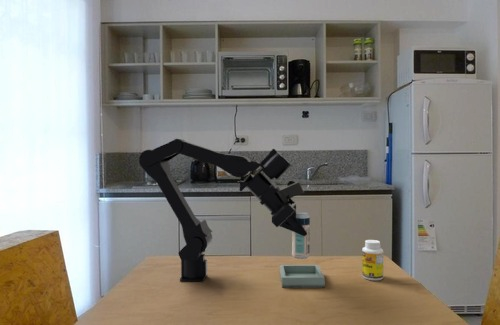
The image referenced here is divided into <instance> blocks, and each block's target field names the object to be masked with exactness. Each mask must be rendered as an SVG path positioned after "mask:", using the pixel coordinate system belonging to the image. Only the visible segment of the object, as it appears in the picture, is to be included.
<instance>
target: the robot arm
mask: <svg viewBox="0 0 500 325" xmlns="http://www.w3.org/2000/svg"><path fill="white" fill-rule="evenodd" d="M179 155H184V156H186V157H188V158H192V159H195V160H199V161H201V162H204V163H207V164H210V165H213V166H216V167H218V168H220V169H221V170H222V171H224V172H225V173H228V174H229V175H231V176H233V177H235V178H243V177H246V176H247V175H248V177H246V178H245V179H244V180H239V182H238V183H239V192H243V191H244V190H245V189H246V188H247V189H248V190H249V191H250V193H252V194H253V196H255V198H257V200H258V201H259V203H260V205H261V206H264V207H265V208H266V209H267V210H268V211H270V214H271V223H272V224H273V225H274V226H275V227H276V228H278V227H280V228H282V229H286V230H288V231H291V232H292V231H293V232H295V233H298V234H300V235H302V236H306V235H307V232H306V231H305V229H304V228H303V226H302V225H301V223H300V222H299V220H298V219H297V218H296V212H297V204H296V201H295V200H294V199H293V198H294V197H296V196H298V195H299V196H300V195H303V194H304V193H305V190H304V188H303V186H302V184H301V182H300V180H299V181H294V180H293V179H291V180H289V181H287V186H285V187H282V188H280V186H275V185H274V184H273V183H272V182H271V181H270V180H273V179H276V180H279V179H280V178H281V177H282V176H283V174H284V173H286V172H287V171H288V170H289V169H290V168H291V167H292V164H291V163H290V161H289V160H287V158H285V157H284V156H283V155H281V154H280V152H278V150H276V149H275V148H272V149H271V150H270V151H269V153H268V154H267V155H266V157H264V159H263V160H261V161H259V160H256V161H255V160H254V161H253V160H251V159H250V158H249V157H247V156H245V155H238V154H230V153H222V152H219V151H216V150H214V149H213V150H212V149H210V148H208V147H204V146H201V145H198V144H195V143H191V142H188V141H186V140H184V139H182V138H181V139H179V138H173V139H172V140H171V141H169V142H167V143H164V144H162V145H159V146H158V147H155V148H153V149H146V150H144V151H142V152H141V153H140V155H139V159H138V164H139V166H140V167H141V169H142V170H143V171H144V172H145V173H146V174H147V176H148V177H150V178H151V179H152V180H154V182H156V184H157V186H158V187H159V189H160V191H161V193H162V194H163V196H164V198H165V199H166V200H167V202H168V204H169V206H170V208H171V210H172V211H173V213H174V215H175V217H176V218H177V220H178V222H179V224H180V225H181V228H182V234H183V239H184V242H185V245H184V246H183V247H182V248H181V249H180V251H178V256H179V258H180V260H181V261H180V267H181V268H180V275H181V277H180V278H179V282H203V281H204V280H205V278H206V277H207V275H208V260H207V259H206V254H205V252H206V250H207V249H208V247H210V245H211V244H212V241H213V234H212V233H213V230H212V229H211V228H210V227H209V225H208V222H207V220H206V219H203V220H202V221H200V220H199V219H198V218H197V217H196V216H195V214H194V212H193V211H192V208H191V207H190V206H189V203H188V202H187V200H186V199H185V197H184V195H183V192H181V190H180V188H179V186H178V185H177V183H176V181H175V180H174V178H173V176H172V173H171V168H170V163H169V161H171V160H173V159H174V158H176V157H177V156H179ZM260 168H261V169H260ZM259 169H260V170H259ZM257 170H259V171H258V172H257V173H256V174H252V173H251V172H255V171H257ZM262 172H263V173H264V174H265V175H264V174H263V173H262ZM249 174H250V175H249ZM266 176H267V177H268V178H269V179H268V178H267V177H266Z"/></svg>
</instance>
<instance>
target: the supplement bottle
mask: <svg viewBox="0 0 500 325" xmlns="http://www.w3.org/2000/svg"><path fill="white" fill-rule="evenodd" d="M361 250H362V251H361V252H362V253H361V258H362V260H361V261H362V262H361V264H362V265H361V266H362V267H361V273H362V274H361V275H362V277H363V278H364V279H365V280H369V281H381V280H382V279H384V250H383V248H382V247H381V241H380V240H376V239H365V240H364V247H362V249H361Z"/></svg>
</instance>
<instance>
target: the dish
mask: <svg viewBox="0 0 500 325" xmlns="http://www.w3.org/2000/svg"><path fill="white" fill-rule="evenodd" d="M279 275H280V284H281V288H301V289H302V288H303V289H304V288H305V289H306V288H325V287H326V286H325V285H326V280H325V275H324V274H323V271H322V270H321V268H320V265H319V264H280V265H279Z"/></svg>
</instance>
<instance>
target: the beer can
mask: <svg viewBox="0 0 500 325" xmlns="http://www.w3.org/2000/svg"><path fill="white" fill-rule="evenodd" d="M296 218H297V219H298V220H299V222H300V223H301V225H302V226H303V228H304V229H305V231H306V232H307V235H306V236H302V235H300V234H298V233H295V232H293V231H291V232H292V234H291V237H292V239H291V241H292V242H291V243H292V244H291V246H292V247H291V256H292V257H293V258H295V259H298V260H299V259H300V260H305V259H306V260H307V259H308V258H309V257H310V254H311V253H310V249H311V248H310V247H311V246H310V242H311V241H310V239H311V238H310V234H311V233H310V231H311V230H310V227H311V224H310V222H311V219H310V218H311V216H310V214H309V212H306V211H296Z"/></svg>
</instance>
